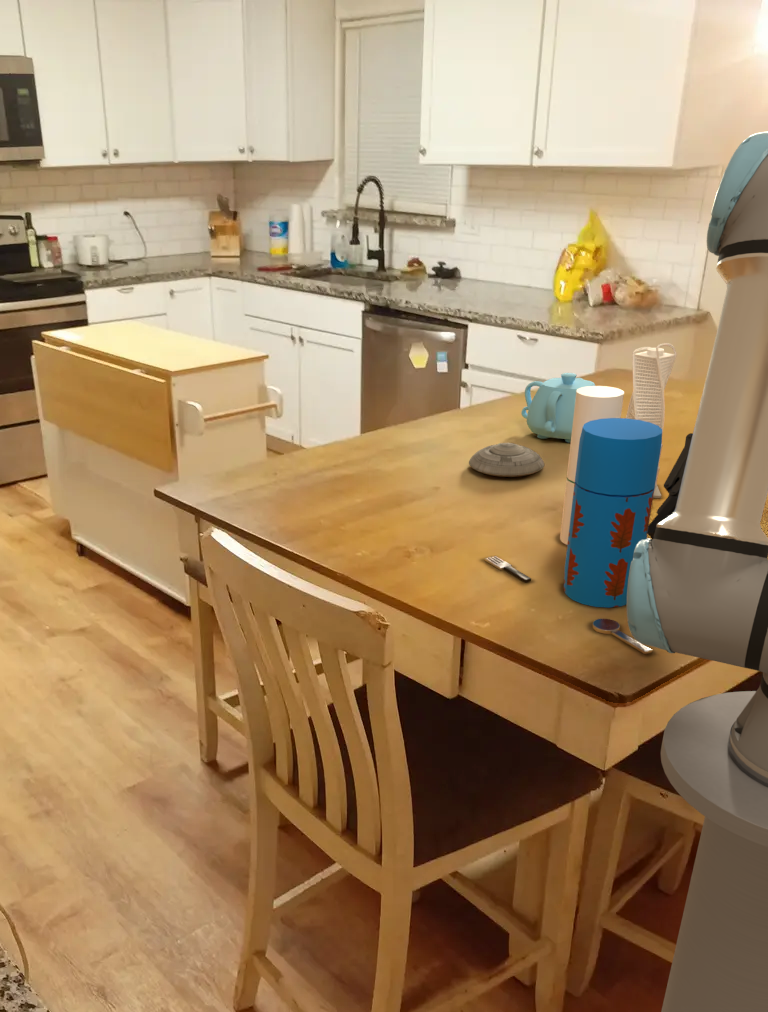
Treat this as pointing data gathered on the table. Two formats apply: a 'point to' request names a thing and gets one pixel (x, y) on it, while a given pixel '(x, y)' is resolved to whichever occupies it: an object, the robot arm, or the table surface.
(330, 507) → the table surface
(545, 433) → the decorative pot
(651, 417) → the skyscraper
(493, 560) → the fork
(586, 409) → the cylindrical container
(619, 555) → the thermos
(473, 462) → the flying saucer
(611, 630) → the metal disc paddle
